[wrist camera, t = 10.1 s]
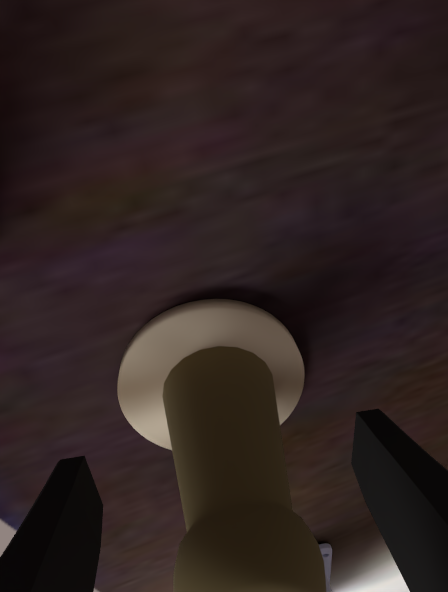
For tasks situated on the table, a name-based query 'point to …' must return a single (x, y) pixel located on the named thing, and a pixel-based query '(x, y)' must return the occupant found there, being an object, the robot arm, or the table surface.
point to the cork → (234, 480)
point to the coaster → (196, 336)
